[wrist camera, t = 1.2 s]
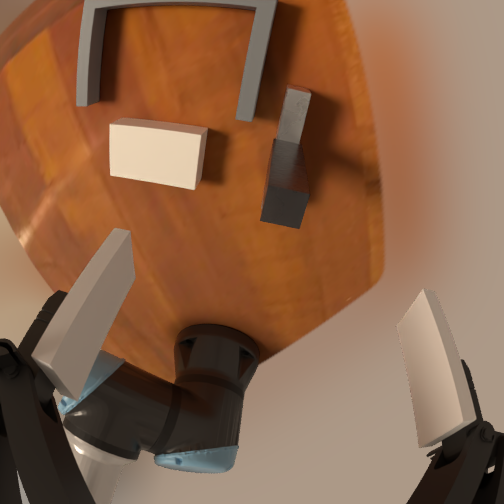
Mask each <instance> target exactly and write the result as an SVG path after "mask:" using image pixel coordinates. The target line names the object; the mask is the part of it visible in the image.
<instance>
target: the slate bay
mask: <svg viewBox="0 0 504 504" xmlns="http://www.w3.org/2000/svg"><path fill="white" fill-rule="evenodd" d="M277 3H278V0H85V2H84V9H83V15H82V23H81V31H80V40H79V52H78V66H77V95H76V106H89V105H91V104H94V103H96V102H99V92H100V72H101V58H102V47H103V38H104V30H105V22H106V15H107V10H109V9H117V8H127V7H139V6H158V5H197V6H216V7H228V8H238V9H247V10H254V11H256V13H255V18H254V23H253V27H252V32H251V37H250V42H249V47H248V53H247V58H246V63H245V68H244V74H243V79H242V85H241V90H240V96H239V101H238V107H237V113H236V119H237V120H243V121H249V122H252V120H253V118H254V115H255V109H256V104H257V99H258V94H259V89H260V84H261V79H262V74H263V69H264V64H265V59H266V54H267V49H268V45H269V40H270V35H271V30H272V26H273V21H274V16H275V12H276V7H277Z"/></svg>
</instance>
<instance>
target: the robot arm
mask: <svg viewBox="0 0 504 504" xmlns="http://www.w3.org/2000/svg"><path fill="white" fill-rule="evenodd" d="M134 280H135V270H134V262H133V253H132V243H131V232H130V231H128V230H123V229H118V228H114V229H113V231H112V232H111V233H110V235H109V236H108V237H107V239H106V240H105V241H104V243H103V244H102V245H101V247H100V248H99V249H98V251H97V252H96V254H95V255H94V256H93V258H92V259H91V260H90V262H89V263H88V265H87V266H86V268H85V269H84V270H83V272H82V273H81V275H80V276H79V278H78V279H77V281H76V282H75V284H74V285H73V287H72V288H71V290H70V291H69V293H66V292H63V291H60V290H58V291H57V292H56V293H54V294H53V295H52V296H51V297H49V298H48V300H47V301H46V303H45V304H44V306H43V307H42V310H41V311H40V312H39V314H38V315H37V318H36V319H35V320H34V322H33V323H32V325H31V327H30V328H29V330H28V331H27V333H26V335H25V337H24V338H23V340H22V342H21V343H20V345H19V347H18V348H16V346H15V345H14V344H13V343H12V342H11V341H10V340H8V339H0V504H22V500H21V494H20V488H19V483H18V476H17V471H18V474H19V477H20V479H21V482H22V485H23V488H24V490H25V493H26V496H27V498H28V501H29V503H30V504H111V501H112V498H113V495H114V492H115V489H116V486H117V483H118V481H119V478H120V474H121V472H122V468H123V466H125V465H127V464H130V463H133V462H136V461H137V459H138V456H139V454H140V451H141V450H145V451H148V452H151V453H153V454H155V456H154V460H155V464H156V465H158V466H162V467H164V468H169V469H173V470H179V471H186V472H195V473H223V472H227V471H229V470H230V469H231V468H232V467H233V465H234V462H235V458H236V454H237V449H238V448H239V446H238V441H239V433H240V424H241V417H242V408H243V400H244V393H245V390H246V388H247V387H248V385H249V383H250V380H251V379H252V377H253V375H254V373H255V371H256V369H257V367H258V362H259V349H258V347H257V345H256V344H255V343H254V342H253V340H251V339H250V338H249V337H248V336H246V335H245V334H243V333H241V332H239V331H237V330H234V329H231V328H228V327H225V326H220V325H213V324H200V325H194V326H190V327H187V328H185V329H184V330H182V331H181V332H180V333H179V335H178V336H177V340H176V343H175V346H174V359H175V372H176V379H175V383H174V384H172V383H170V382H168V381H166V380H164V379H161V378H159V377H157V376H155V375H153V374H151V373H148V372H146V371H144V370H142V369H140V368H138V367H136V366H134V365H132V364H130V363H128V362H126V361H125V359H124V358H122V359H121V358H118V357H116V356H114V355H112V354H110V353H108V352H106V351H103V350H100V349H101V346H102V344H103V342H104V340H105V338H106V336H107V334H108V332H109V329H110V327H111V325H112V323H113V321H114V319H115V317H116V315H117V313H118V311H119V309H120V307H121V305H122V303H123V301H124V299H125V297H126V295H127V294H128V292H129V290H130V288H131V286H132V284H133V282H134ZM396 328H397V332H398V336H399V340H400V344H401V349H402V353H403V357H404V362H405V366H406V371H407V376H408V381H409V386H410V392H411V397H412V402H413V409H414V415H415V421H416V429H417V436H418V444H419V448H422V447H428V446H433V445H435V444H437V443H438V442H440V441H442V446H440V447H438V448H436V449H435V450H433V451H431V452H429V453H428V454H427V457H429V456H431V455H433V454H435V453H436V454H435V456H433V457H432V458H430V459H431V460H432V461H431V463H430V465H429V467H428V469H427V471H426V472H425V474H424V476H423V478H422V480H421V481H420V483H419V484H418V486H417V488H416V489H415V491H414V493H413V494H412V496H411V497H410V499H409V500H408V502H407V503H406V504H504V433H501V432H496V431H494V428H493V426H492V425H491V424H490V423H489V422H487V421H483V418H482V414H481V410H480V406H479V402H478V398H477V394H476V390H474V388H475V387H474V384H473V381H472V377H471V373H470V370H469V368H468V366H467V365H466V363H465V361H464V360H460V357H459V353H458V350H457V347H456V345H455V342H454V339H453V336H452V333H451V330H450V328H449V325H448V322H447V320H446V317H445V315H444V312H443V310H442V307H441V305H440V302H439V300H438V297H437V295H436V293H435V291H432V290H427V289H422V291H421V292H420V294H419V295H418V297H417V298H416V300H415V301H414V303H413V304H412V305H411V307H410V308H409V309H408V311H407V312H406V314H405V315H404V317H403V318H402V319H401V321H400V322H399V323H398V324H397V326H396ZM55 388H56V389H57V390H58V392H59V393H60V394H61V395H63V397H62V400H61V402H60V403H59V405H58V409H59V411H60V412H61V413H62V414H63V415H65V419H64V421H63V424H62V421H61V418H60V415H59V412H58V409H57V405H56V402H55V398H54V396H53V392H54V390H55ZM494 465H495V468H494V471H493V472H491V473H488V468H490V467H492V466H494Z"/></svg>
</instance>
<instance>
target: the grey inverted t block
mask: <svg viewBox="0 0 504 504" xmlns="http://www.w3.org/2000/svg"><path fill="white" fill-rule="evenodd" d="M310 97H311V93H310V91H309V90H308V89H306V88H302V87H298V86H294V85H289V84H287V88H286V92H285V97H284V101H283V106H282V110H281V115H280V119H279V124H278V128H277V133H276V137H275V139H274V140H273V144H272V149H271V153H270V158H269V163H268V169H267V176H266V183H265V187H264V192H263V199H262V206H261V208H262V211H261V218H260V221H263V222H268V223H273V224H278V225H283V226H287V227H292V228H297V229H299V228H300V225H301V222H302V219H303V216H304V212H305V209H306V206H307V203H308V199H309V196H310V191H309V184H308V178H307V172H306V166H305V161H304V155H303V149H302V145H301V144H299V141H300V138H301V134H302V130H303V126H304V122H305V118H306V114H307V110H308V106H309V101H310Z"/></svg>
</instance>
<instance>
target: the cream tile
mask: <svg viewBox="0 0 504 504" xmlns="http://www.w3.org/2000/svg"><path fill="white" fill-rule="evenodd" d="M207 132H208V128H205V127H199V126H192V125H186V124H178V123H171V122H162V121H154V120H144V119H134V118H121V119H119V120H117V121H115V122H113V123H111V124H110V175H111V176H118V177H124V178H130V179H136V180H142V181H148V182H154V183H160V184H165V185H171V186H176V187H182V188H187V189H192V190H195V188H196V187H197V185H198V183H199V182H200V180H201V177H202V169H203V161H204V154H205V146H206V139H207Z"/></svg>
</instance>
